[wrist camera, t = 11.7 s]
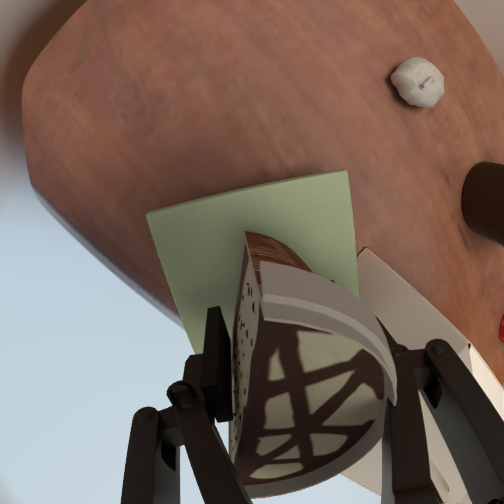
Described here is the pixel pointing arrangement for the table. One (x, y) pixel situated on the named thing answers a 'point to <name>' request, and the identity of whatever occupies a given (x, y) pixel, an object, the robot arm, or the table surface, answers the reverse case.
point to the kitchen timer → (502, 329)
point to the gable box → (416, 337)
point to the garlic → (418, 82)
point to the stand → (259, 221)
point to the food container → (302, 373)
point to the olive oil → (485, 201)
